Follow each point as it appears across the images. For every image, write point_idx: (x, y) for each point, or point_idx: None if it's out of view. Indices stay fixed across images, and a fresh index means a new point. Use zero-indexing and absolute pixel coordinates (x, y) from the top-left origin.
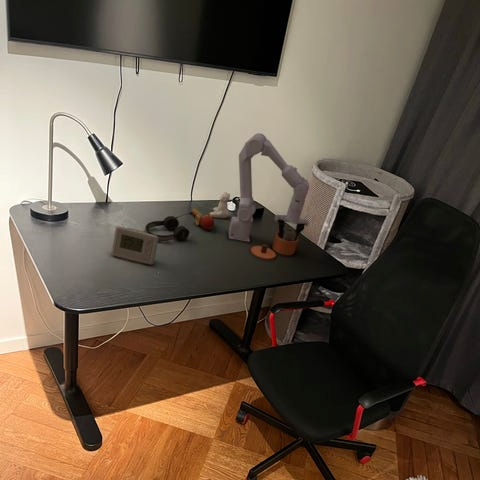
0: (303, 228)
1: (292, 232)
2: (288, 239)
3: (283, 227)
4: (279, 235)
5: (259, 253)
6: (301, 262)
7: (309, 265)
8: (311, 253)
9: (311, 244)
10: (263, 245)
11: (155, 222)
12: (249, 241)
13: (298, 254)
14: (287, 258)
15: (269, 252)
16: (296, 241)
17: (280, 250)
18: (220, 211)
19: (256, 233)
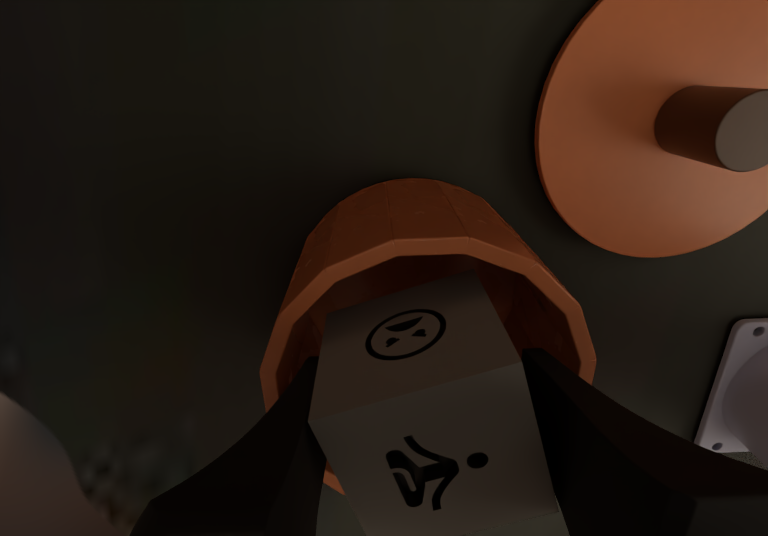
0: (147, 521)
1: (386, 422)
2: (420, 316)
3: (628, 455)
4: (560, 362)
5: (756, 55)
6: (214, 89)
7: (111, 44)
8: (112, 343)
9: (126, 495)
10: None
11: None
12: (745, 324)
13: (248, 271)
14: (381, 127)
15: (609, 137)
16: (294, 297)
17: (476, 201)
18: None
19: None
